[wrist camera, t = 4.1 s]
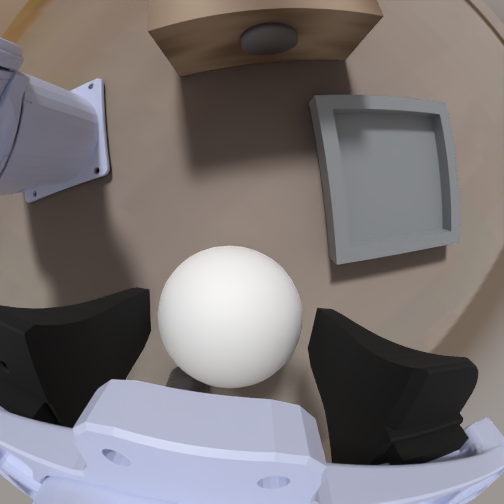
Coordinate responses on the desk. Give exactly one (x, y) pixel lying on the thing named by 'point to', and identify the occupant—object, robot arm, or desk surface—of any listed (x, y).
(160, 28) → the lamp housing
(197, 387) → the fuse
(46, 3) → the desk surface
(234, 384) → the lightbulb
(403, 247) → the tray
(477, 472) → the robot arm
